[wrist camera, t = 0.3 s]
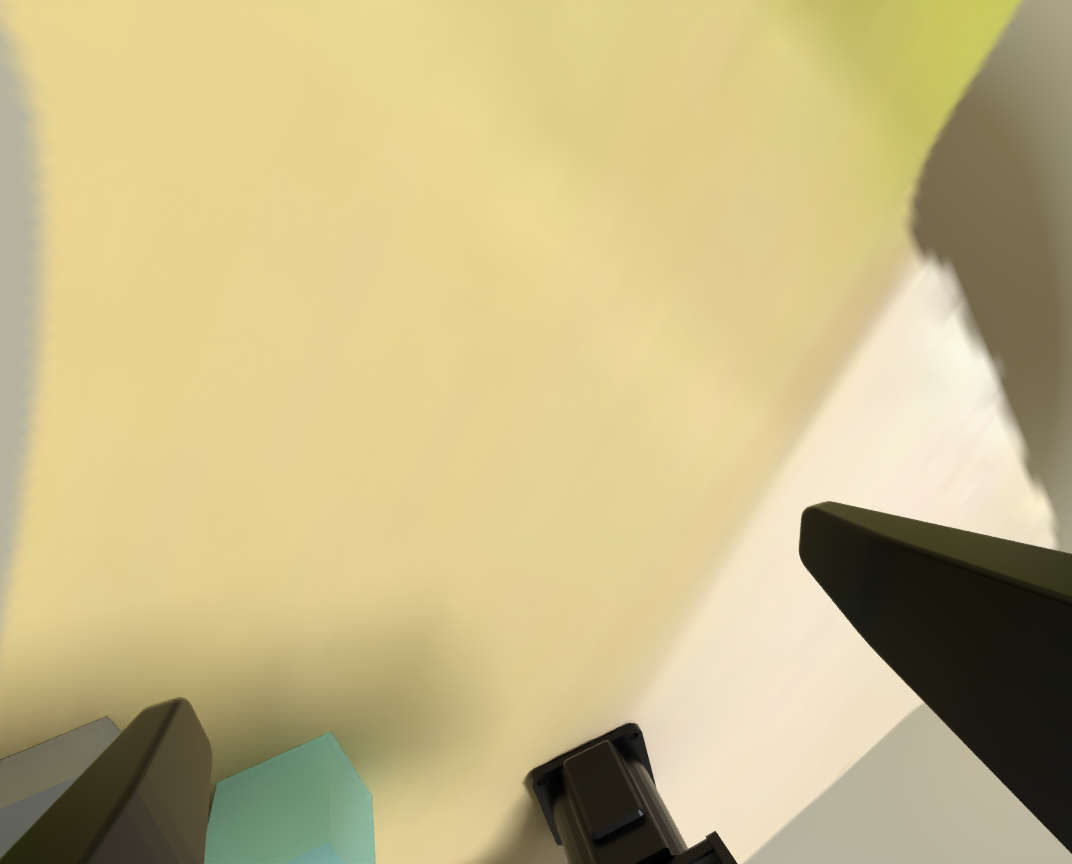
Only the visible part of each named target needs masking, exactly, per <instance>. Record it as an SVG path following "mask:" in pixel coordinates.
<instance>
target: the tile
mask: <svg viewBox="0 0 1072 864" xmlns="http://www.w3.org/2000/svg"><path fill="white" fill-rule="evenodd" d="M120 733H121V732H120V730H119V729H118V728H117V727H116V726H115V725H114V724H113V723H112V722H111V720H110V719H109V718H108V717H104V718H102V719H99V720H97V721H94V722H92V723H90V724H87V725H85V726H82V727H80V728H77V729H75V730H73V731H70V732H68V733H65V734H63V735H61V736H58V737H56V738H53V739H51V740H48V741H46V742H44V743H41V744H39V745H36V746H34V747H31V748H29V749H27V750H24V751H22V752H19V753H17V754H14V755H12V756H10V757H7V758H5V759H2V760H0V858H1V857H2V856H3V855H4V854H5V853H6V852H7V851H8V850H9V849H10V848H11V847H12V846H13V845H14V844H15V843H16V842H17V840H18V839H19V838H20V837H21V836H22V835H23V834H24V833H25V832H26V831H27V830H28V829H29V828H30V827H31V826H32V825H33V824H34V823H35V822H36V821H37V820H38V819H39V818H40V817H41V815H42V814H43V813H44V812H45V811H46V810H47V809H48V808H49V807H50V806H51V805H52V804H53V803H54V802H55V801H56V800H57V799H58V798H59V797H60V796H61V795H62V794H63V793H64V792H65V790H66V789H67V788H68V787H69V786H70V785H71V784H72V783H73V782H74V781H75V780H76V779H77V778H78V777H79V776H80V775H81V774H82V773H83V772H84V771H85V770H86V769H87V768H88V767H89V766H90V764H91V763H92V762H93V761H94V760H95V759H96V758H97V757H98V756H99V755H100V754H101V753H102V752H103V751H104V750H105V749H106V748H107V747H108V746H109V745H110V744H111V743H112V742H113V741H114V739H115V738H116V737H117V736H118V735H119V734H120Z"/></svg>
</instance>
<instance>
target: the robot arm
mask: <svg viewBox="0 0 1072 864" xmlns="http://www.w3.org/2000/svg"><path fill="white" fill-rule="evenodd" d="M799 555H800V558H801V561H802V563H803V565H804V566H805V567H806V569H807V570H808V571H809V572H810V574H811V575H812V576H813V577H814V579H815V580H816V581H817V582H818V583H819V585H820V586H821V587H822V588H823V590H824V591H825V592H826V593H827V595H828V596H829V597H830V598H831V599H832V601H833V602H834V603H835V604H836V606H837V607H838V608H839V609H840V611H841V612H842V613H843V614H844V615H845V617H846V618H847V619H848V620H849V622H850V623H851V624H852V625H853V627H854V628H855V629H856V630H857V631H858V633H859V634H860V635H861V636H862V637H863V638H864V640H865V641H866V642H867V643H868V644H869V645H870V646H871V647H872V649H873V650H874V651H875V652H876V653H877V654H878V655H879V656H880V657H881V658H882V659H883V660H884V661H885V662H886V663H887V664H888V665H889V666H890V667H891V668H892V669H893V670H894V672H895V673H896V674H897V675H898V676H899V677H900V678H901V679H902V680H903V681H904V682H905V683H906V684H907V685H908V686H909V687H910V688H911V689H912V690H913V691H914V692H915V693H916V694H917V695H918V696H919V697H920V698H921V699H922V700H923V701H924V702H925V703H926V704H927V705H928V706H929V707H930V709H932V711H933V712H934V713H935V714H936V715H937V716H938V717H939V718H940V719H941V720H942V721H943V722H944V723H945V724H946V725H947V726H948V727H949V728H950V729H951V730H952V731H953V732H954V733H955V734H956V735H957V736H958V737H959V738H960V739H961V740H962V741H963V743H964V744H965V745H967V747H968V748H969V749H970V750H971V751H972V752H973V753H974V754H975V755H976V756H977V757H978V758H979V759H980V760H981V761H982V762H983V763H984V764H985V765H986V766H987V767H988V768H989V769H990V770H991V771H992V772H993V773H994V774H995V775H996V776H997V777H998V778H999V780H1001V782H1002V783H1003V784H1004V785H1005V786H1006V787H1007V788H1008V789H1009V790H1010V791H1011V792H1012V793H1013V794H1014V795H1015V796H1016V797H1017V798H1018V799H1019V800H1020V801H1021V802H1022V803H1023V804H1024V805H1025V806H1026V807H1027V808H1028V809H1029V810H1030V811H1031V812H1032V814H1034V816H1035V817H1036V818H1037V819H1038V820H1039V821H1040V822H1041V823H1042V824H1043V825H1044V826H1045V827H1046V828H1047V829H1048V830H1049V831H1050V832H1051V833H1052V834H1053V835H1054V836H1055V837H1056V838H1057V839H1058V840H1059V841H1060V842H1061V843H1062V844H1063V845H1064V846H1065V847H1066V849H1068V850H1069V851H1070V853H1071V854H1072V554H1070V553H1066V552H1061V551H1056V550H1052V549H1047V548H1043V547H1038V546H1034V545H1029V544H1024V543H1020V542H1015V541H1011V540H1006V539H1001V538H997V537H992V536H988V535H983V534H978V533H974V532H969V531H965V530H960V529H956V528H951V527H946V526H942V525H937V524H933V523H928V522H923V521H919V520H914V519H910V518H905V517H900V516H896V515H891V514H887V513H882V512H878V511H873V510H868V509H864V508H859V507H855V506H850V505H845V504H841V503H836V502H831V501H827V502H822V503H819V504H816V505H812V506H809V507H807V508H806V509H804V511H803V513H802V516H801V527H800V539H799ZM211 773H212V749H211V745H210V742H209V739H208V737H207V735H206V733H205V731H204V729H203V727H202V725H201V723H200V721H199V719H198V717H197V715H196V713H195V711H194V709H193V707H192V705H191V704H190V702H189V701H188V700H187V699H185V698H181V697H178V698H174V699H171V700H168V701H164V702H161V703H158V704H154V705H151V706H149V707H147V708H145V709H144V710H143V711H142V712H141V713H139V715H138V716H137V717H136V718H135V719H134V720H133V721H132V722H131V723H130V724H129V725H128V726H127V727H126V728H125V729H124V730H123V731H122V732H121V733H120V734H119V735H118V736H117V737H116V738H115V739H114V741H113V742H112V743H111V744H110V745H109V746H108V747H107V748H106V749H105V750H104V751H103V752H102V753H101V754H100V755H99V756H98V757H97V758H96V759H95V760H94V761H93V762H92V763H91V764H90V766H89V767H88V768H87V769H86V770H85V771H84V772H83V773H82V774H81V775H80V776H79V777H78V778H77V779H76V780H75V781H74V782H73V783H72V784H71V785H70V786H69V787H68V788H67V789H66V790H65V792H64V793H63V794H62V795H61V796H60V797H59V798H58V799H57V800H56V801H55V802H54V803H53V804H52V805H51V806H50V807H49V808H48V809H47V810H46V811H45V812H44V813H43V814H42V815H41V817H40V818H39V819H38V820H37V821H36V822H35V823H34V824H33V825H32V826H31V827H30V828H29V829H28V830H27V831H26V832H25V833H24V834H23V835H22V836H21V837H20V838H19V839H18V840H17V842H16V843H15V844H14V845H13V846H12V847H11V848H10V849H9V850H8V851H7V852H6V853H5V854H4V855H3V856H2V857H1V858H0V864H204V861H205V848H206V836H207V823H208V811H209V798H210V786H211ZM530 780H531V783H532V786H533V788H534V791H535V793H536V795H537V798H538V800H539V803H540V805H541V807H542V810H543V812H544V815H545V817H546V819H547V822H548V824H549V827H550V829H551V832H552V834H553V836H554V839H555V841H556V843H557V844H558V845H563V847H564V850H565V853H566V856H567V859H568V862H569V864H737V862H736V861H735V859H734V858H733V856H732V855H731V853H730V852H729V850H728V849H727V847H726V846H725V844H724V843H723V841H722V840H721V838H720V837H719V835H718V834H717V832H716V831H714V832H712V833H711V834H709V835H707V836H706V839H705V840H703V841H701V842H700V843H698V844H696V845H694V846H693V847H691V848H689V849H688V847H687V845H686V843H685V841H684V840H683V838H682V836H681V834H680V832H679V830H678V828H677V827H676V825H675V823H674V821H673V819H672V817H671V815H670V813H669V812H668V810H667V808H666V806H665V804H664V802H663V800H662V798H661V797H660V795H659V793H658V791H657V789H656V785H655V781H654V777H653V773H652V769H651V765H650V761H649V758H648V754H647V750H646V746H645V742H644V738H643V734H642V731H641V729H640V728H639V726H638V724H636V723H632V724H629V725H627V726H625V727H623V728H621V729H619V730H617V731H615V732H613V733H611V734H609V735H606V736H604V737H602V738H600V739H598V740H596V741H594V742H592V743H590V744H588V745H586V746H584V747H582V748H580V749H578V750H576V751H574V752H572V753H570V754H568V755H566V756H564V757H562V758H560V759H558V760H555V761H553V762H551V763H549V764H547V765H545V766H543V767H541V768H539V769H537V770H536V771H534V772H533V773H532V774H531V776H530Z"/></svg>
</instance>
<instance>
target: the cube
mask: <svg viewBox="0 0 1072 864" xmlns="http://www.w3.org/2000/svg"><path fill="white" fill-rule="evenodd" d="M204 864H376V861H375V840H374V820H373V799H372V795H371V794H370V792H369V790H368V789H367V787H366V786H365V784H364V783H363V781H362V779H361V778H360V776H359V775H358V773H357V772H356V770H355V768H354V767H353V765H352V764H351V762H350V761H349V759H348V757H347V756H346V754H345V753H344V751H343V750H342V748H341V746H340V745H339V743H338V742H337V740H336V739H335V737H334V735H333V734H332V732H329V733H327V734H325V735H322V736H320V737H318V738H316V739H313V740H311V741H309V742H307V743H304V744H302V745H300V746H298V747H295V748H293V749H291V750H289V751H286V752H284V753H282V754H280V755H277V756H275V757H273V758H271V759H268V760H266V761H264V762H262V763H260V764H257V765H255V766H253V767H251V768H248V769H246V770H244V771H242V772H239V773H237V774H235V775H233V776H230V777H228V778H226V779H224V780H221V781H219V782H217V786H216V790H215V795H214V799H213V804H212V809H211V813H210V818H209V822H208V827H207V836H206V848H205V861H204Z"/></svg>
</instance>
